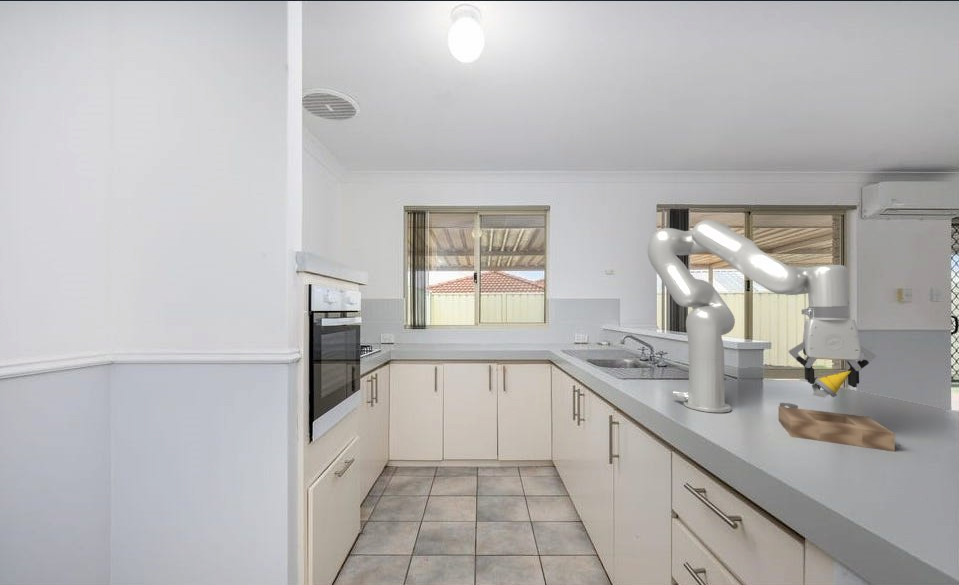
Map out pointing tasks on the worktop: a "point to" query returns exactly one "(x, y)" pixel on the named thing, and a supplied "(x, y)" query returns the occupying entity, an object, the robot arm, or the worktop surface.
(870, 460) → the worktop surface
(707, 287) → the robot arm
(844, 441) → the wooden tray
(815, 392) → the yellow cone
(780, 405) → the short pin
